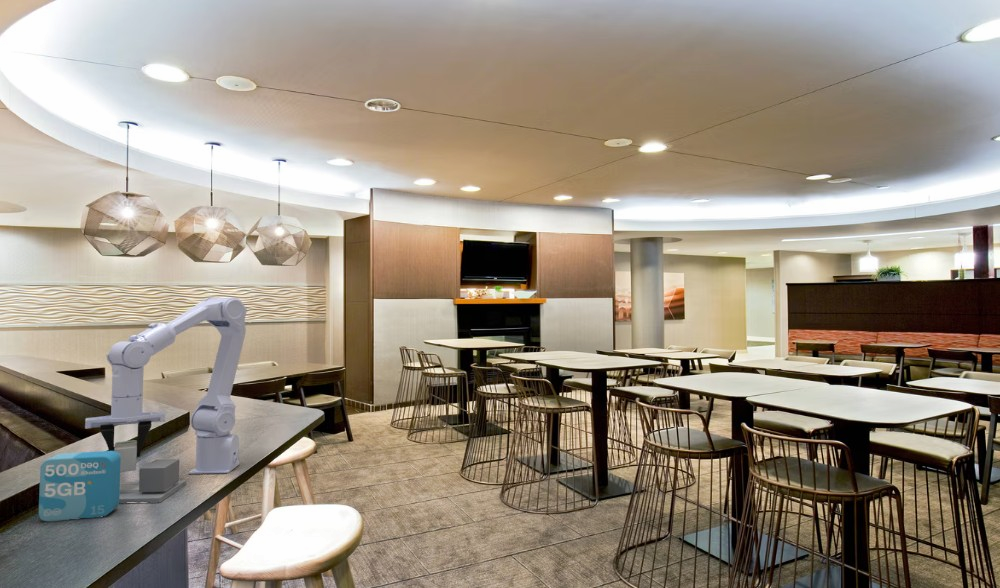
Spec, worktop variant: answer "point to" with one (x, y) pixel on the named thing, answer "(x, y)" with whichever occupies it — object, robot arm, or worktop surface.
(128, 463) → the module
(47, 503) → the data package
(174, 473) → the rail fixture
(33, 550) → the worktop surface
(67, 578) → the worktop surface
